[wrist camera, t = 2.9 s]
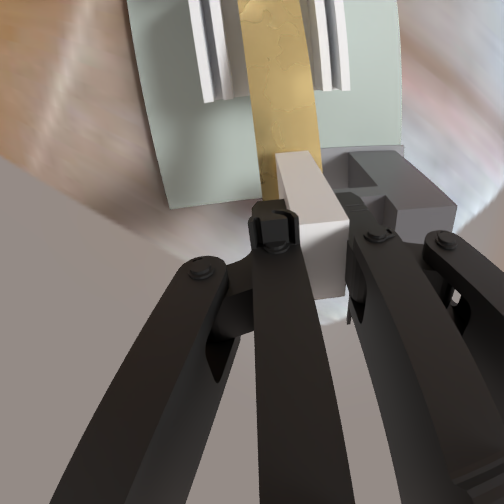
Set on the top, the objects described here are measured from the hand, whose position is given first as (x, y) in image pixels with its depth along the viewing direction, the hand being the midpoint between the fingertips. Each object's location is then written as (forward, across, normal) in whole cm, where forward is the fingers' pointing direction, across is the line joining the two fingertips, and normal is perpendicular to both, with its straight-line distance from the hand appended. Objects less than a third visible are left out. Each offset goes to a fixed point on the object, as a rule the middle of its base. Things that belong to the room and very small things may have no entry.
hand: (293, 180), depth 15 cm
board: (+11, 0, +6) cm, 12 cm away
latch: (+10, +6, -3) cm, 12 cm away
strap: (+3, 0, +5) cm, 6 cm away
